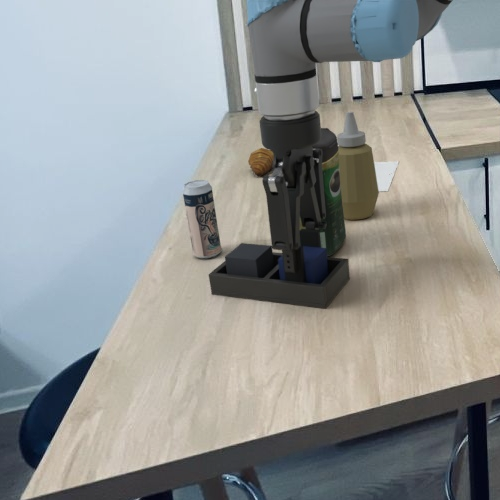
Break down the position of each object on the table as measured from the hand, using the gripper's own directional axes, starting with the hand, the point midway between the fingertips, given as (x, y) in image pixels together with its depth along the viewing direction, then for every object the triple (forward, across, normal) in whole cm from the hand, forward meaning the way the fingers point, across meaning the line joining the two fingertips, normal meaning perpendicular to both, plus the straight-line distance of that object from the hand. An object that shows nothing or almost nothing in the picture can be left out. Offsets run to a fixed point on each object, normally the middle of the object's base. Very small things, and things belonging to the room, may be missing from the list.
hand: (305, 281), depth 90 cm
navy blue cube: (0, 0, 0) cm, 0 cm away
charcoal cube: (+1, 0, -8) cm, 8 cm away
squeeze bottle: (+1, -29, -3) cm, 29 cm away
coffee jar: (+1, -14, -4) cm, 15 cm away
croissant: (+2, -54, -34) cm, 64 cm away
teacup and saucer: (+2, -50, -13) cm, 52 cm away
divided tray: (+1, 0, -4) cm, 4 cm away
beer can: (+2, -8, -21) cm, 22 cm away
